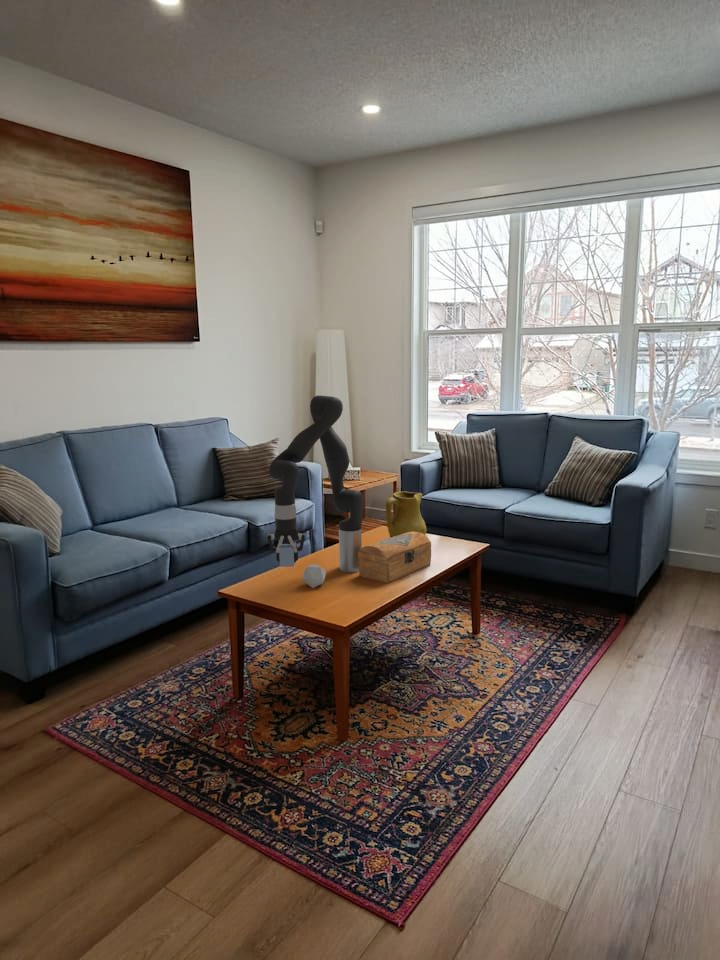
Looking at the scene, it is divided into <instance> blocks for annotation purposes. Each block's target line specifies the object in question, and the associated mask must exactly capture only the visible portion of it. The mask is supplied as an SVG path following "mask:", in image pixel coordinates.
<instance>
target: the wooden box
mask: <svg viewBox="0 0 720 960" xmlns="http://www.w3.org/2000/svg"><path fill="white" fill-rule="evenodd" d="M358 558H359V571H358V575H359V577H362V578H366V579H369V580H374V581H378V582H382V583H386V584H391V583H394V582H395V581H398V580H399V578H400V579H401V578H404V577H406V575H407V576H409V575H411V574H413V572H414V573H415V571H416V572H418V571H421V570H424V569H425V568H428V567H430V566H431V561H432V542H431V540H430V538H429V537H428V536H427V535H426V534H425V535H424V534H422V533H419V532H407V533H404V534H401V535H398V536H394V537H391V538H390V537H389V538H386V539H383V540H380V541H378V542H374V543H371V544H369V545H366V546H364V547H363V546H362V549H361V550H360V551H359V552H358ZM420 569H421V570H420Z"/></svg>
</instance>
